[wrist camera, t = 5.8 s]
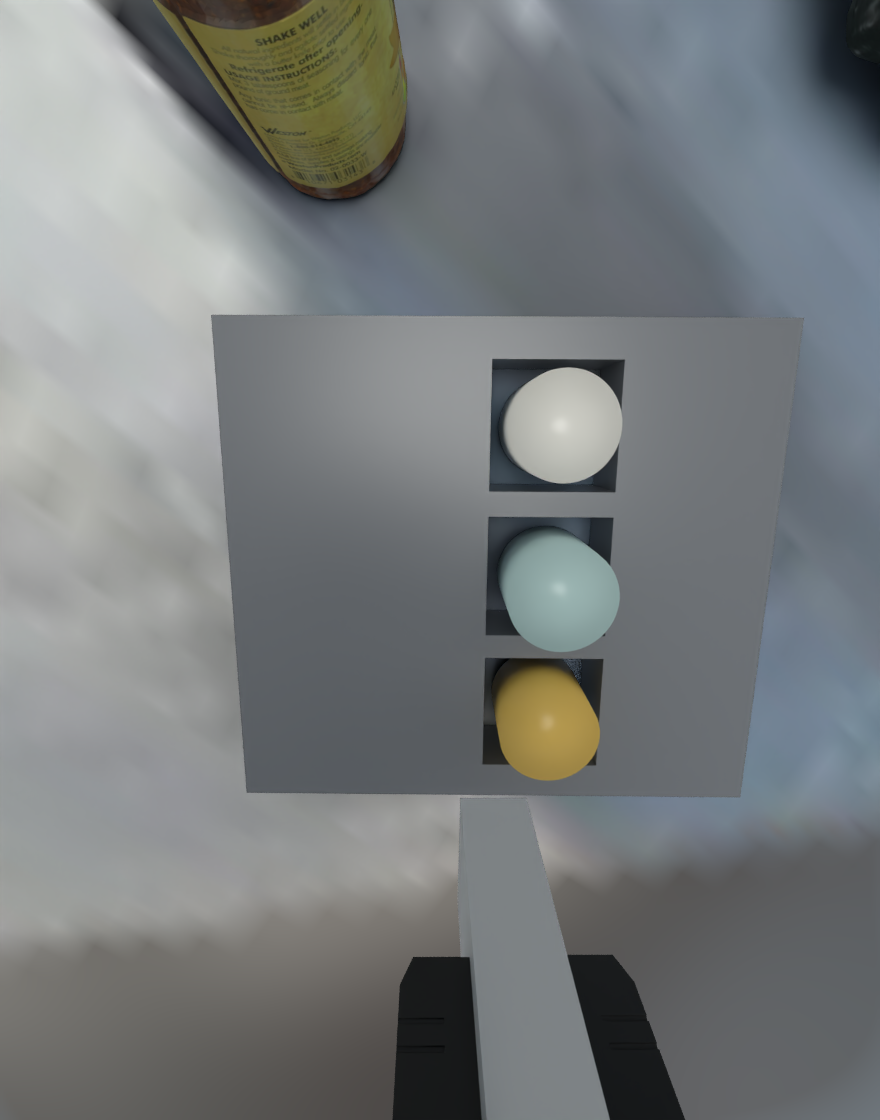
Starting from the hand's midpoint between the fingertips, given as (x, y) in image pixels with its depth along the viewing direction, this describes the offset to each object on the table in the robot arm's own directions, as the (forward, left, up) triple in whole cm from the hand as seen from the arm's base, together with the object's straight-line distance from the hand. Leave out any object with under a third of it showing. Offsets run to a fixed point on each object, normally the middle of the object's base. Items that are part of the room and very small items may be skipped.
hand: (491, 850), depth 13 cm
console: (+1, +4, -15) cm, 15 cm away
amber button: (+3, -2, -14) cm, 14 cm away
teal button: (+3, +4, -12) cm, 13 cm away
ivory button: (+3, +10, -14) cm, 17 cm away
